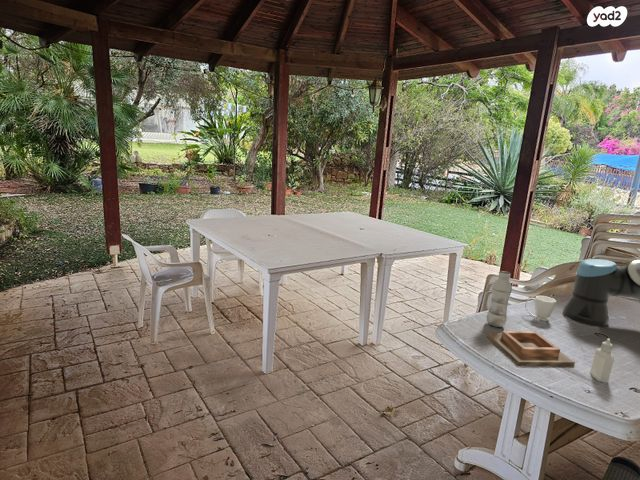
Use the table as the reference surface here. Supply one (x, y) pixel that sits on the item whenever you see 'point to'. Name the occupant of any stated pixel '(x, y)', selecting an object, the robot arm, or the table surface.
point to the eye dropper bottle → (602, 362)
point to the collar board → (529, 349)
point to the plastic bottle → (499, 300)
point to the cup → (543, 307)
